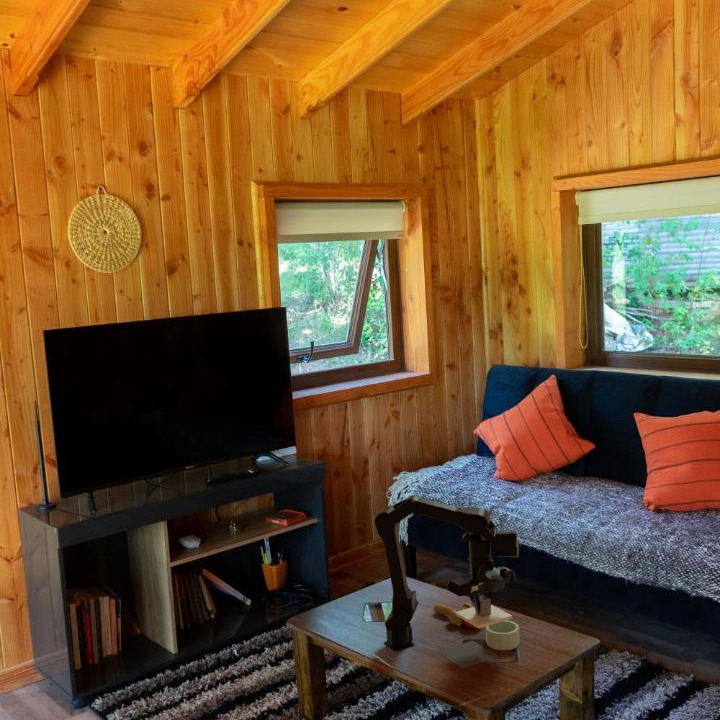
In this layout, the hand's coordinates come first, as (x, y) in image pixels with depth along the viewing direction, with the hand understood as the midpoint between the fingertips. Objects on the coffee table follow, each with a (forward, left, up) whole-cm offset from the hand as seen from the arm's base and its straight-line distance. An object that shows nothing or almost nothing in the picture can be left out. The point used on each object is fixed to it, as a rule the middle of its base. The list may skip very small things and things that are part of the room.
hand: (483, 610), depth 246 cm
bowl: (+7, 0, -11) cm, 13 cm away
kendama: (+5, +20, -12) cm, 24 cm away
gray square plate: (-5, 0, -11) cm, 13 cm away
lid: (0, 0, -2) cm, 2 cm away
